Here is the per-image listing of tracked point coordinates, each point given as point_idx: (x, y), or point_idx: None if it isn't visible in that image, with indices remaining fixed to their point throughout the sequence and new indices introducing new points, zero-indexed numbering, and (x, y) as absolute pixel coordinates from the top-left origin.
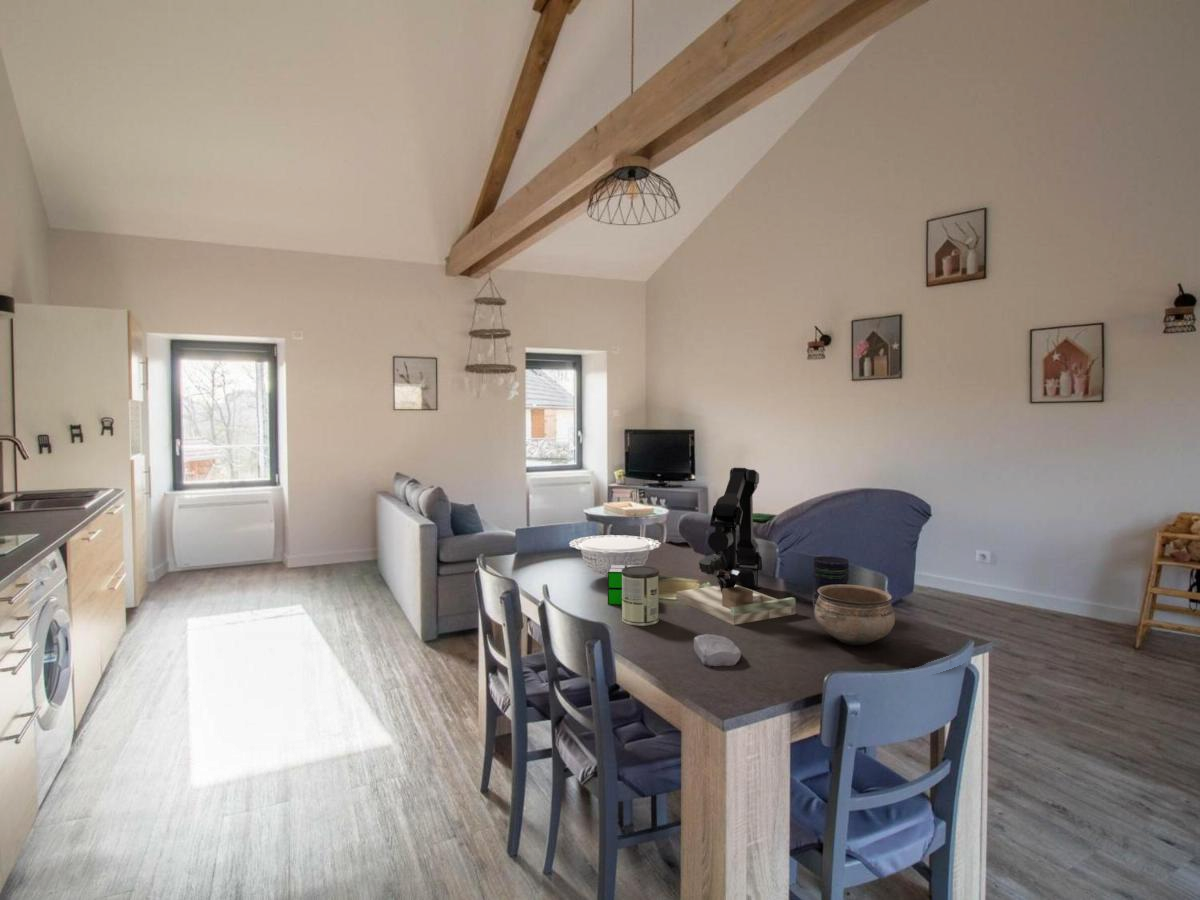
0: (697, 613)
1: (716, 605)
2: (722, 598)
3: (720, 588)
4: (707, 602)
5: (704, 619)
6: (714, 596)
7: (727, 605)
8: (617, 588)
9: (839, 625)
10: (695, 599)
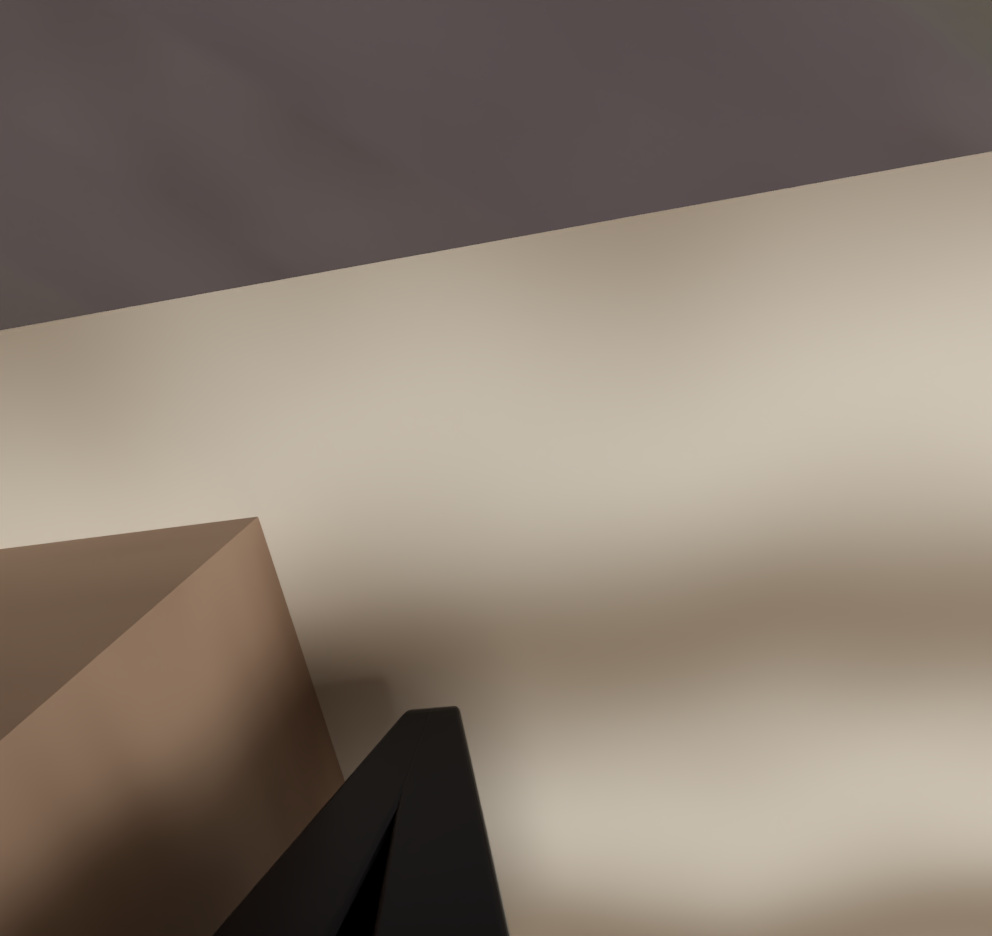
0: (502, 62)
1: (311, 427)
2: (143, 607)
3: (503, 923)
4: (592, 351)
5: (109, 15)
6: (931, 700)
7: (54, 562)
8: None
9: None
10: (976, 168)
